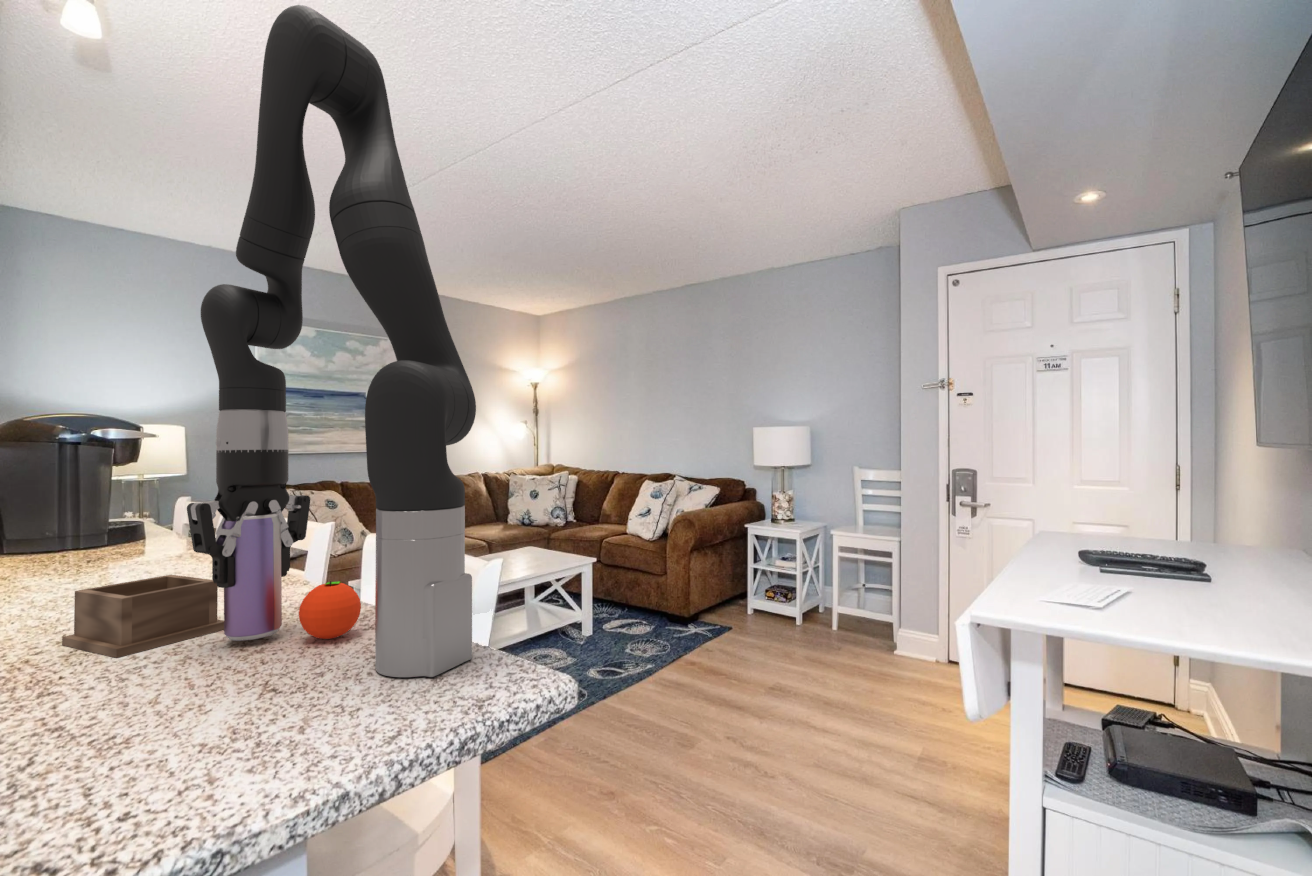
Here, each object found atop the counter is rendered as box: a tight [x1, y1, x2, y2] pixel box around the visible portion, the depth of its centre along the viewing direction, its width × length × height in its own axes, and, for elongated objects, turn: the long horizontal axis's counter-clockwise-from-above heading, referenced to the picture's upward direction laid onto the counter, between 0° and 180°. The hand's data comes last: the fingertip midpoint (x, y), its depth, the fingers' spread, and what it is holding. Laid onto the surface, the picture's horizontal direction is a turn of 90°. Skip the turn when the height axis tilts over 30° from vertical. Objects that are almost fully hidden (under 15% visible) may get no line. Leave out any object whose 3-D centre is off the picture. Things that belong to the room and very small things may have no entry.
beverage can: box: [223, 513, 283, 642], centre depth 74 cm, size 6×6×15 cm
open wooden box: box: [61, 574, 224, 659], centre depth 76 cm, size 12×12×6 cm
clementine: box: [298, 580, 362, 640], centre depth 75 cm, size 8×7×7 cm
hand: (253, 581), depth 74 cm, fingers closed on beverage can, 6 cm apart
